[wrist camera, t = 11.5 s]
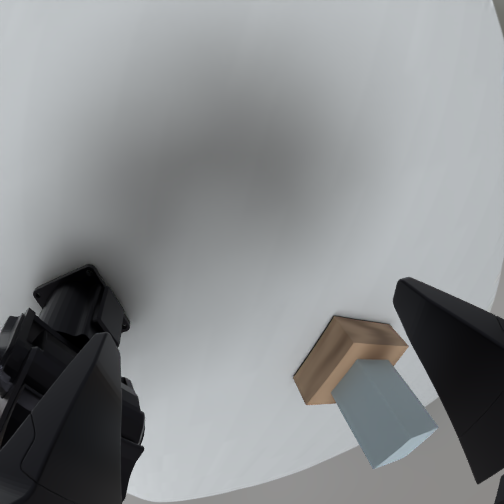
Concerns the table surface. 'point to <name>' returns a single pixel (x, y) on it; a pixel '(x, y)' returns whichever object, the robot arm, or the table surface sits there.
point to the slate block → (382, 411)
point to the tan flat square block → (344, 355)
